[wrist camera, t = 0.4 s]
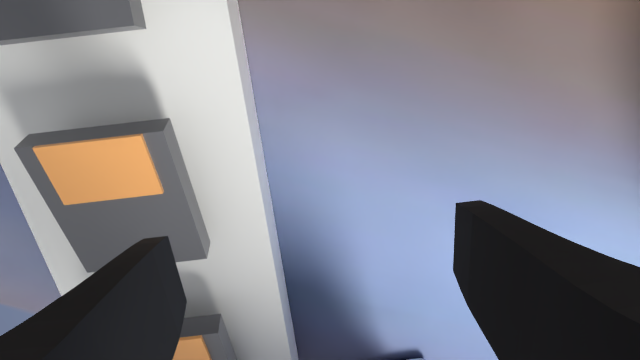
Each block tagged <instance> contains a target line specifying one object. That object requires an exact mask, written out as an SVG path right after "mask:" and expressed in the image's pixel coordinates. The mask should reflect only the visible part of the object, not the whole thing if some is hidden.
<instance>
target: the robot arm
mask: <svg viewBox="0 0 640 360" xmlns="http://www.w3.org/2000/svg"><path fill="white" fill-rule="evenodd" d="M453 271H454V274H455V276H456V279H457V282H458V284H459V287H460V289H461V292H462V294H463V296H464V299H465V301H466V303H467V305H468V307H469V309H470V311H471V313H472V314H473V316H474V318H475V320H476V321H477V323H478V325H479V327H480V328H481V330H482V332H483V334H484V335H485V337H486V339H487V340H488V342H489V344H490V345H491V347H492V349H493V351H494V352H495V354H496V356H497V357H498V359H499V360H640V267H638V266H635V265H632V264H629V263H626V262H623V261H620V260H617V259H615V258H612V257H609V256H606V255H604V254H601V253H599V252H596V251H594V250H591V249H589V248H587V247H584V246H582V245H579V244H577V243H574V242H572V241H570V240H567V239H565V238H563V237H560V236H558V235H556V234H554V233H552V232H549V231H547V230H545V229H543V228H541V227H539V226H536V225H534V224H532V223H530V222H528V221H526V220H524V219H522V218H519V217H517V216H515V215H513V214H511V213H509V212H507V211H505V210H502V209H500V208H498V207H496V206H494V205H491V204H489V203H486V202H483V201H481V200H479V201H470V202H462V203H456V213H455V238H454V263H453ZM186 304H187V299H186V296H185V293H184V289H183V286H182V282H181V279H180V276H179V272H178V269H177V265H176V262H175V258H174V255H173V252H172V248H171V245H170V241H169V238H168V236H162V237H153V238H144V239H142V240H140V241H139V242H137V243H135V244H134V245H132V246H131V247H129V248H128V249H126V250H125V251H124V252H122V253H121V254H119V255H118V256H117V257H115V258H114V259H113V260H111V261H110V262H108V263H107V264H106V265H104V266H103V267H102V268H100V269H99V270H98V271H96V272H95V273H94V274H92V275H91V276H89V277H88V278H87V279H85V280H84V281H83V282H81V283H80V284H79V285H77V286H76V287H74V288H73V289H71V290H70V291H69V292H67V293H66V294H64V295H63V296H61V297H60V298H58V299H57V300H55V301H54V302H52V303H51V304H50V305H48V306H47V307H45V308H44V309H42V310H41V311H39V312H38V313H36V314H35V315H34V316H32V317H30V318H29V319H27V320H26V321H24V322H23V323H21V324H19V325H18V326H16V327H15V328H13V329H12V330H10V331H8V332H6V333H5V334H3V335H1V336H0V360H172V359H173V357H174V354H175V351H176V348H177V345H178V342H179V339H180V334H181V330H182V325H183V320H184V315H185V309H186ZM408 360H425V359H423V358H416V359H408Z"/></svg>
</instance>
